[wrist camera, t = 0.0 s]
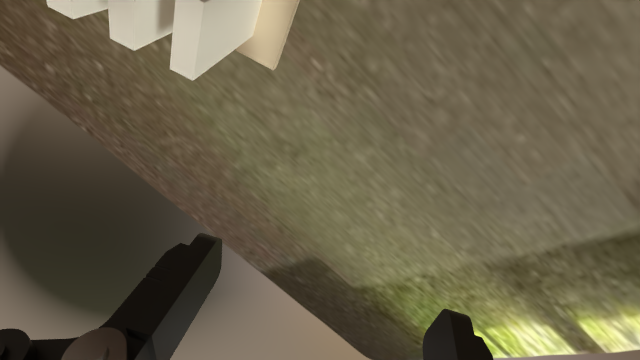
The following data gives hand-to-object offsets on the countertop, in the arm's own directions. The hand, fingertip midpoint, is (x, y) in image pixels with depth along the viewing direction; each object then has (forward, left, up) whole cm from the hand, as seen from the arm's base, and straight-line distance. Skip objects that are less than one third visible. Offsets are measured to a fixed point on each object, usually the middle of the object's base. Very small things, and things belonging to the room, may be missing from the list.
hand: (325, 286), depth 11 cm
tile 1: (+4, -11, -21) cm, 24 cm away
